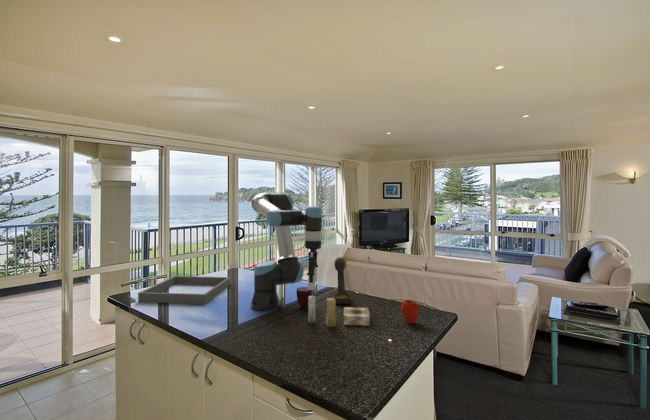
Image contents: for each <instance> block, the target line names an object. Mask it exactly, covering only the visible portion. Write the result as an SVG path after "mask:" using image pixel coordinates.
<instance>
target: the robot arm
mask: <svg viewBox="0 0 650 420" xmlns="http://www.w3.org/2000/svg"><path fill="white" fill-rule="evenodd" d="M251 208H252V210H253V211H254V212H256V213H258V214H261V215H263V216H264V218H266V223H267V224H268V226H269V227H275V231H276V232H275V233H276V241H277V247H278V255H279V258H278V260H277V261H275V260H266V261H261V262H259V263H257V264H255V266H254V270H253V271H254V272H253V275H254V276H253V277H254V278H253V279H254V281H253V282H254V283H253V285H254V292H253V295H252V299H251V302H250V307H251V308H252V309H253V310H255V311H256V310H257V311H271V310H275V309H277V308H279V307H280V305H281V304H280V302H281V301H280V298H279V294H278V292H277V286H282V285H289V284H292V285H293V284H296V283H297V284H298V283H300V282H301V280H302V279H303V277H304V272H305V271H304V269H305V268H304V264H303V262H302V261H300V260H299V257H298V256H296V254H295V248H294V247H295V246H294V242H293V235H292V229H291V227H292V226H295V227H296V226H297V227H298V226H304V239H305V240H304V248H305V249H307V250H309V252H308V254H307V255H308V270H307V272H306V276H308V280H307V281H308V283H307V285H308V286H307V287H308V289H312V290H315V282H317V281H318V277H317V276H318V272H317V271H318V268H319V265H318V250H320V249H321V248H322V235H323V232H322V218H323V215H322V208H321V207H320V206H306V207H305V209H294V200H293V197H292V195H291V194H289V193H288V192H268V191H267V192H265V191H264V192H261V193H258V194H256V195H255V196H254V197H253V198H252V200H251Z"/></svg>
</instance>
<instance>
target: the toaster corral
mask: <svg viewBox="0 0 650 420" xmlns="http://www.w3.org/2000/svg"><path fill="white" fill-rule="evenodd" d="M175 285H195V286H196V285H202V286H213V287H212V288H211V289H208V290H207V291H206V292H205V293H184V292H183V293H179V292H178V293H177V292H175V293H174V292H163V291H165V290H168V289H169V288H171V287H173V286H175ZM229 285H230V286H231V277H230V276H197V275H196V276H193V275H191V276H190V275H187V276H185V275H184V276H183V275H174V276H172V277H170V278H168V279H165V280H163V281H161V282H158V283H157V284H156V283H155V285H152V286H150V287H148V288H146V289H143V290H141V291H139V292H138V293H137V301H138V303H156V304H157V303H159V304H163V303H166V304H188V305H189V304H190V305H191V304H193V305H195V304H196V305H197V304H198V305H206V304H208V303H209V302H210V301H212V300H213V299H215V297H217V296H218V295H219V294H220V293H222V292H223V291H224V290H226V289H227V288H229ZM225 288H226V289H225ZM221 291H222V292H221ZM216 295H217V296H216Z"/></svg>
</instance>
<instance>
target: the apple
mask: <svg viewBox="0 0 650 420" xmlns="http://www.w3.org/2000/svg"><path fill="white" fill-rule="evenodd" d="M400 313H401V315H402V317H403V318H404V320H405V322H406V323H408V324H413V323H414V322H415V321H416V320H417V318H418V316H419V314H420V307H419V305H418V303H417V301H415V300H411V299H405V300H404V301H403V302H402V303H401V306H400Z"/></svg>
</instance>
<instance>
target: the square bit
mask: <svg viewBox="0 0 650 420" xmlns="http://www.w3.org/2000/svg"><path fill="white" fill-rule="evenodd" d="M336 305H337V304H336V300H335V299H334V297H327V298H326V299H325V325H326V327H327V328H333V327H334V328H335V327H336Z"/></svg>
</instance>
